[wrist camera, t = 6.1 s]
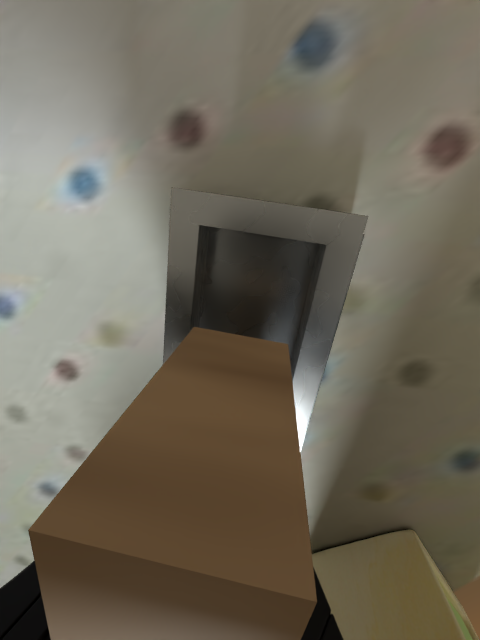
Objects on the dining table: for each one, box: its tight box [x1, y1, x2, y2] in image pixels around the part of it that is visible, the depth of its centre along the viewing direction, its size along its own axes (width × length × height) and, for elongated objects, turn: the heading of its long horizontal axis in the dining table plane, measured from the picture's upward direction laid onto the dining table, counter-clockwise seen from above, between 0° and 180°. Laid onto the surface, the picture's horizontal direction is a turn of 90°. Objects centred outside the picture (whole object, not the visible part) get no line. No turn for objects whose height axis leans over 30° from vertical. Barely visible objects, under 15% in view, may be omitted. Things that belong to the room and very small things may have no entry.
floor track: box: [163, 187, 368, 452], centre depth 12 cm, size 17×7×2 cm, turn 172°
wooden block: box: [28, 327, 317, 640], centre depth 7 cm, size 9×3×6 cm, turn 172°
